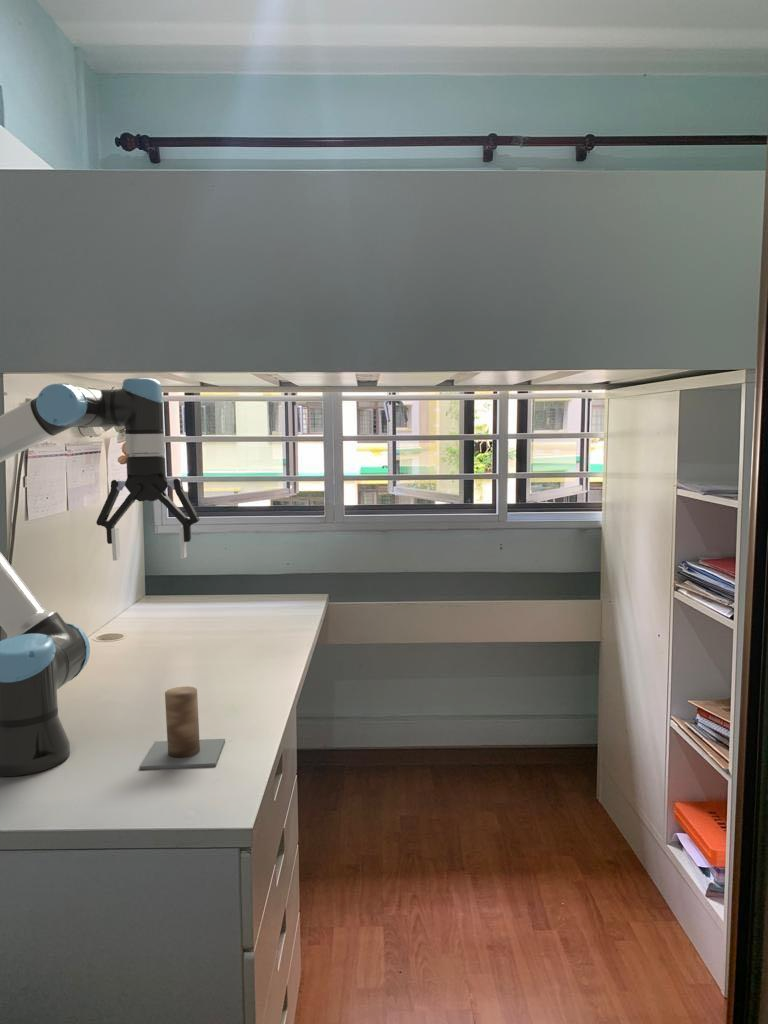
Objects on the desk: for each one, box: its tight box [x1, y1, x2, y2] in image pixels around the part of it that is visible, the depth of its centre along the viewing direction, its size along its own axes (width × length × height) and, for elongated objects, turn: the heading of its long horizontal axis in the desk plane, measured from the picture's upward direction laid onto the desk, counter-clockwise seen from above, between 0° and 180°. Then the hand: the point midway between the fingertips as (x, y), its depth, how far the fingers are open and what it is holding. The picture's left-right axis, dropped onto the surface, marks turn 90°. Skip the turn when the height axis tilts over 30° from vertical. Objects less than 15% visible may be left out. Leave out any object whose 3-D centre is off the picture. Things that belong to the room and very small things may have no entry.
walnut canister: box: [164, 686, 200, 758], centre depth 148 cm, size 6×6×12 cm
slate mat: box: [139, 738, 226, 770], centre depth 148 cm, size 14×12×1 cm
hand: (150, 558), depth 157 cm, fingers open, 13 cm apart
